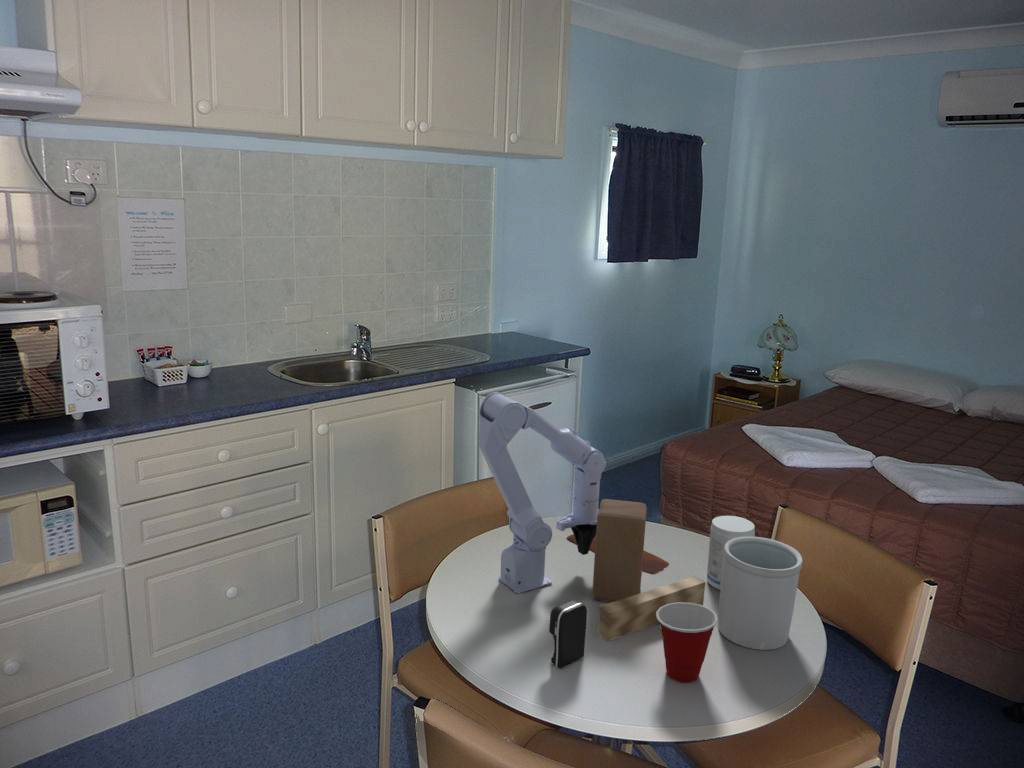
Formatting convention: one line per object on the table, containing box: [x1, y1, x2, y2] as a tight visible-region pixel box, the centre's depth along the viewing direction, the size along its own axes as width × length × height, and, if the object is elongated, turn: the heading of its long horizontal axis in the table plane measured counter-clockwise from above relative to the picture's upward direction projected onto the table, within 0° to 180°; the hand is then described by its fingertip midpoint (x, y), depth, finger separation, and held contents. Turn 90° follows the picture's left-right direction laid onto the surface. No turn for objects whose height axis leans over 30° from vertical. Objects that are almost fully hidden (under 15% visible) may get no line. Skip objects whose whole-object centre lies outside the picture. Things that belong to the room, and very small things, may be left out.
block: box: [591, 498, 648, 603], centre depth 170 cm, size 10×10×20 cm
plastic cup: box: [656, 602, 718, 684], centre depth 143 cm, size 11×11×12 cm
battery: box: [548, 599, 588, 670], centre depth 146 cm, size 7×4×11 cm, turn 131°
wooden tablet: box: [566, 533, 670, 574], centre depth 193 cm, size 27×10×2 cm, turn 45°
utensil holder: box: [717, 536, 803, 651], centre depth 157 cm, size 15×15×18 cm
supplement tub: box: [706, 515, 756, 591], centre depth 177 cm, size 10×10×15 cm
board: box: [597, 575, 706, 642], centre depth 161 cm, size 26×3×6 cm, turn 123°
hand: (583, 552), depth 182 cm, fingers closed
